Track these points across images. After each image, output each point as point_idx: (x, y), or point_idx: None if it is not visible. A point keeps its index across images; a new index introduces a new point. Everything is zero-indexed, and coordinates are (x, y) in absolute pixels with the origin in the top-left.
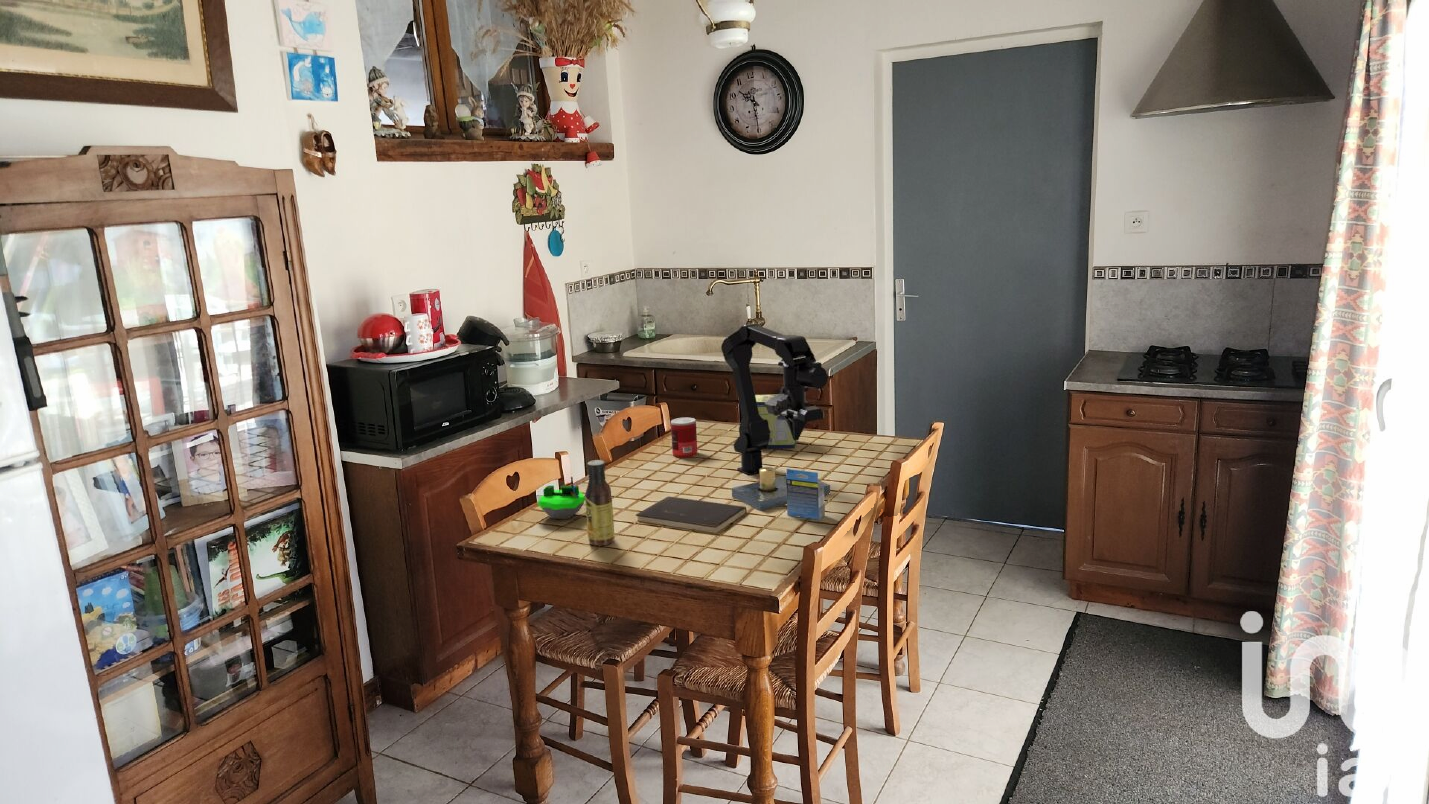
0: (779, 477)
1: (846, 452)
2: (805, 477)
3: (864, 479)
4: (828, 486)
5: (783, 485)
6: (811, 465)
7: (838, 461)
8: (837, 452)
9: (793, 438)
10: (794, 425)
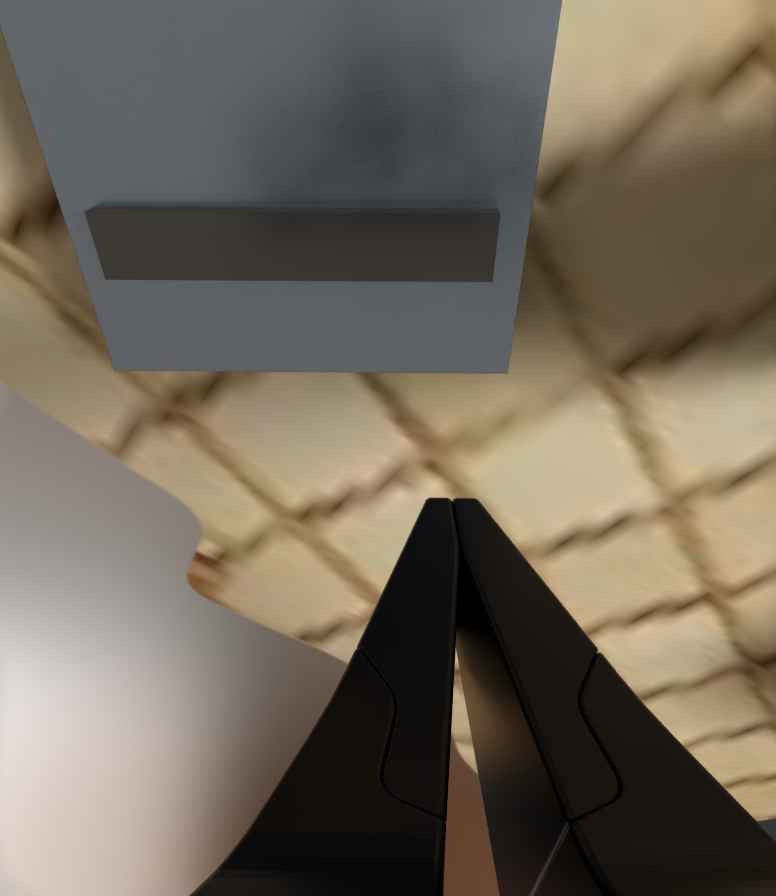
0: (533, 158)
1: (669, 716)
2: (377, 339)
3: (293, 589)
4: (113, 352)
5: (286, 16)
6: (677, 551)
7: (606, 648)
8: (705, 700)
9: (469, 511)
10: (318, 768)
